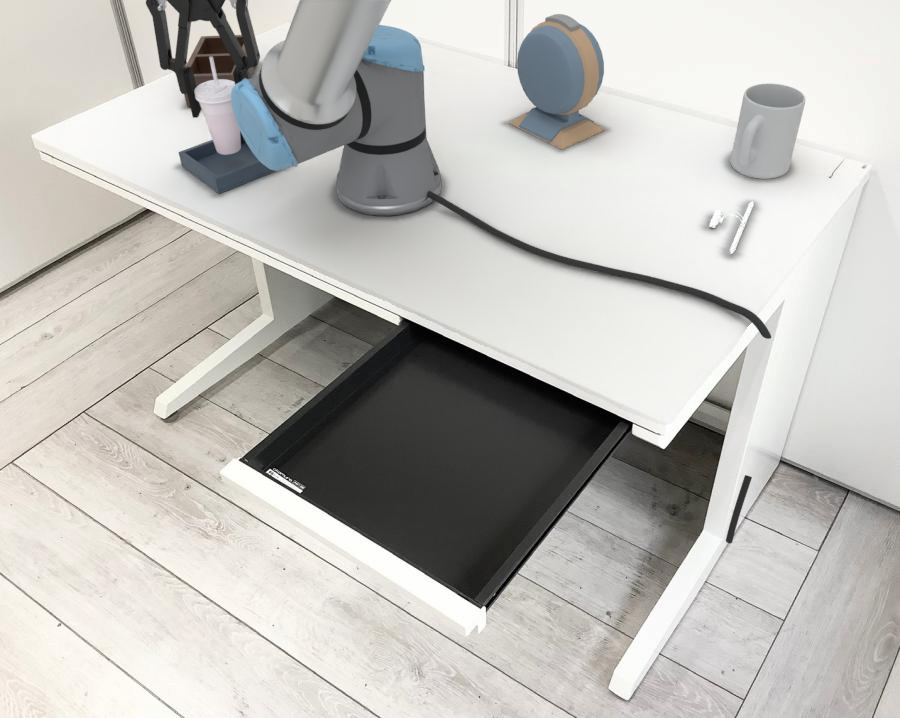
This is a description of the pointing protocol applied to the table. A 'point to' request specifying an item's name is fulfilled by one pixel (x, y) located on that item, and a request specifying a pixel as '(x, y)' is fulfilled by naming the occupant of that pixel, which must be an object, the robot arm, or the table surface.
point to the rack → (222, 60)
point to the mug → (767, 130)
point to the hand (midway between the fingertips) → (221, 112)
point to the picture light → (717, 219)
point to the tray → (222, 166)
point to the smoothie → (219, 112)
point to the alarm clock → (559, 80)
